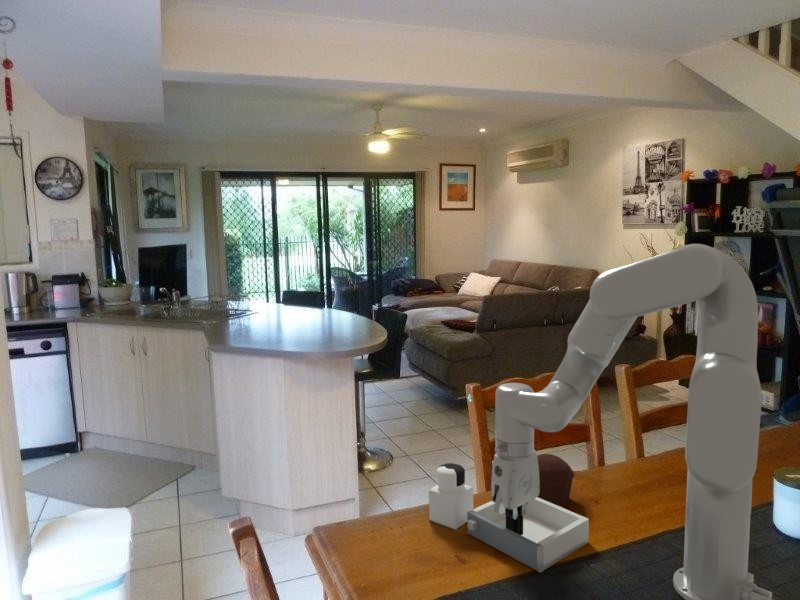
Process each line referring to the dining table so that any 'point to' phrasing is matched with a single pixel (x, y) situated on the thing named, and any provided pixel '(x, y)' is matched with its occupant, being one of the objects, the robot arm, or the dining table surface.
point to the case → (547, 527)
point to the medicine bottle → (450, 497)
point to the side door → (506, 541)
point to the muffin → (554, 479)
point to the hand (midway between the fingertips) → (514, 533)
